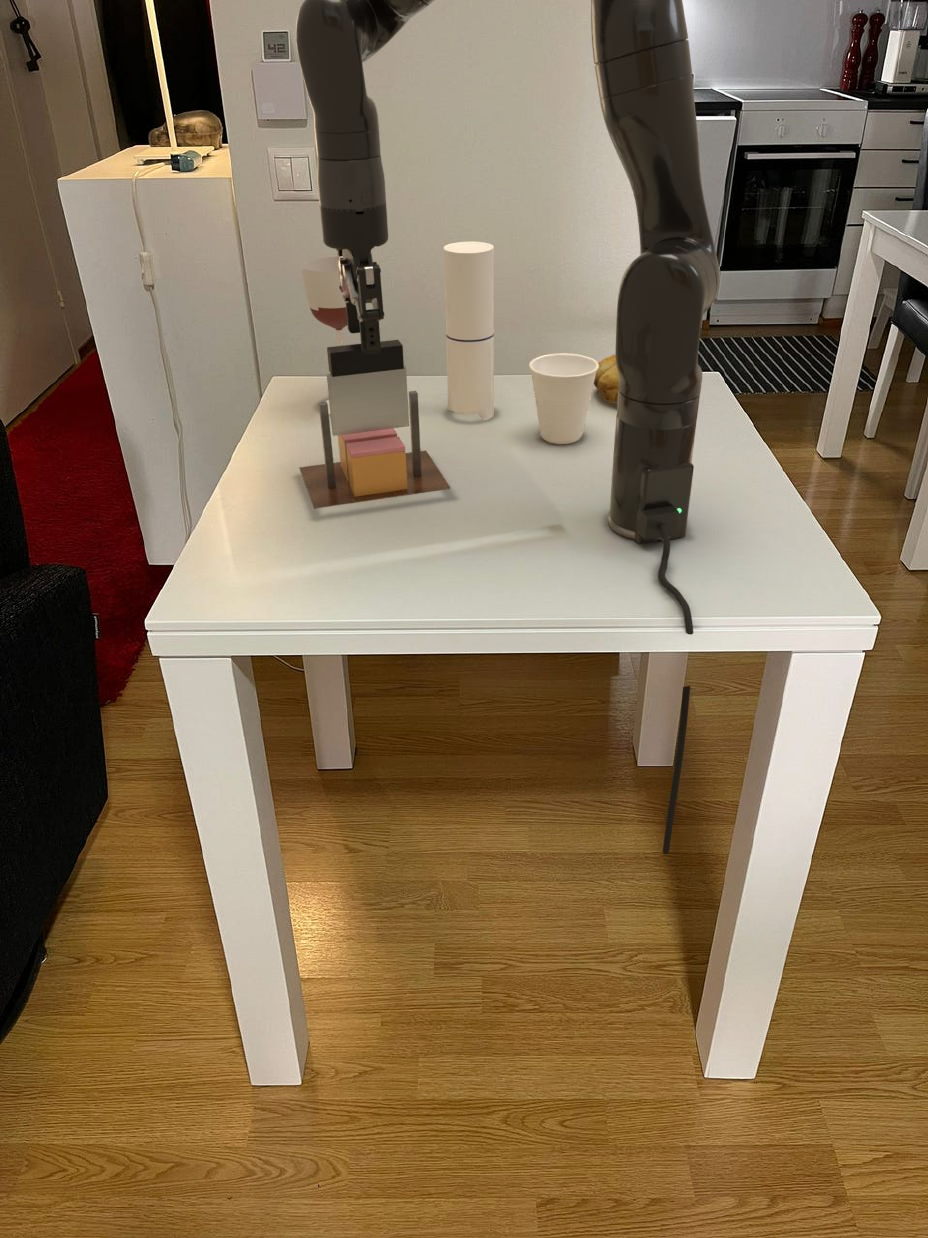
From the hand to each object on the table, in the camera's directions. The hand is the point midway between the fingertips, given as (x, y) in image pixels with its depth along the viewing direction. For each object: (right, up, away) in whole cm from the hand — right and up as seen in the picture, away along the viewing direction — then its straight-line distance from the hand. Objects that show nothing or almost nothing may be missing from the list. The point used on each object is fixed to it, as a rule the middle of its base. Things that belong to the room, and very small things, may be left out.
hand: (364, 342), depth 118 cm
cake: (0, -15, +11) cm, 19 cm away
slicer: (0, -16, +12) cm, 20 cm away
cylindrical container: (+13, -2, +33) cm, 36 cm away
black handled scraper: (0, -10, +6) cm, 11 cm away
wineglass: (-7, 0, +37) cm, 38 cm away
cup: (+27, -7, +25) cm, 37 cm away
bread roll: (+38, +1, +38) cm, 53 cm away
